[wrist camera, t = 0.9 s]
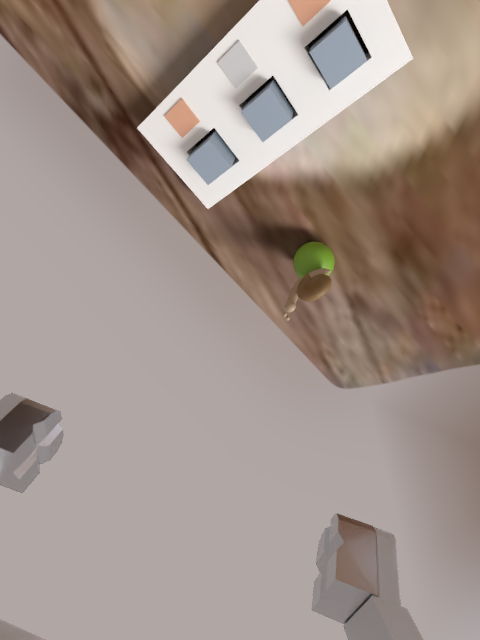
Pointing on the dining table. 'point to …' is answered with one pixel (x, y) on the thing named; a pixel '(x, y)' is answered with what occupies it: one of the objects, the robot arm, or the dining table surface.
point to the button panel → (254, 70)
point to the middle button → (268, 111)
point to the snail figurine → (310, 274)
